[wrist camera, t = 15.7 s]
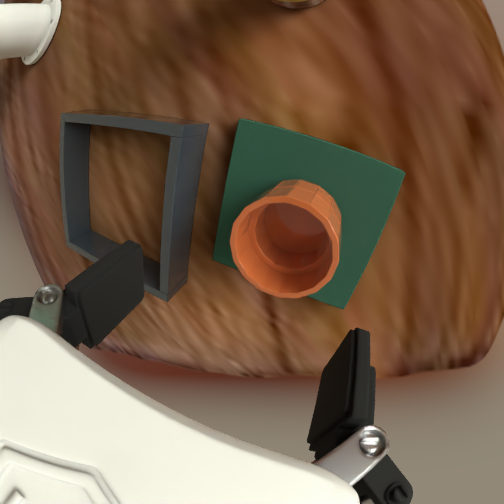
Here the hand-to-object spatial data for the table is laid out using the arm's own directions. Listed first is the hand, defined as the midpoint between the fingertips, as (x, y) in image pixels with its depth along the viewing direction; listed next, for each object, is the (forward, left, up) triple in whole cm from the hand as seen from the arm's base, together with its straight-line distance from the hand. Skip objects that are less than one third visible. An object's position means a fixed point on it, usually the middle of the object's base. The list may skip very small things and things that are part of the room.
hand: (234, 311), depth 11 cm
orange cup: (+1, 0, -12) cm, 12 cm away
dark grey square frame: (-18, -3, -13) cm, 22 cm away
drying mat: (0, 0, -13) cm, 13 cm away
